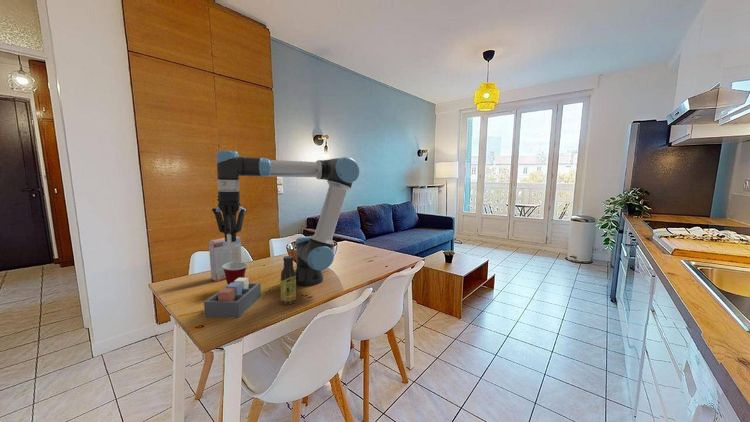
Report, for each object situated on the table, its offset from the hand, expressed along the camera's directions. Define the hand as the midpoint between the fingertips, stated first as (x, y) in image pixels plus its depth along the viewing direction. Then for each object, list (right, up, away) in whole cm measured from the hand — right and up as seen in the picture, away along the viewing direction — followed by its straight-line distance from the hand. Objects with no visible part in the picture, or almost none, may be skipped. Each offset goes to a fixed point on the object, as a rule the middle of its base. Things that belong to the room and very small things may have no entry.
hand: (231, 249), depth 115 cm
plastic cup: (-8, -22, +20) cm, 31 cm away
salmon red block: (0, -20, -3) cm, 21 cm away
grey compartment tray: (0, -24, +3) cm, 24 cm away
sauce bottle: (+21, -24, +7) cm, 32 cm away
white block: (0, -19, +9) cm, 21 cm away
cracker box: (-20, -20, +36) cm, 46 cm away
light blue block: (0, -20, +3) cm, 20 cm away
